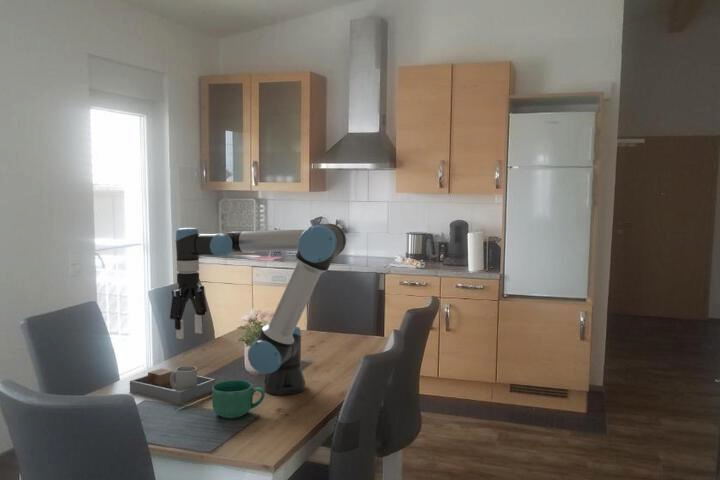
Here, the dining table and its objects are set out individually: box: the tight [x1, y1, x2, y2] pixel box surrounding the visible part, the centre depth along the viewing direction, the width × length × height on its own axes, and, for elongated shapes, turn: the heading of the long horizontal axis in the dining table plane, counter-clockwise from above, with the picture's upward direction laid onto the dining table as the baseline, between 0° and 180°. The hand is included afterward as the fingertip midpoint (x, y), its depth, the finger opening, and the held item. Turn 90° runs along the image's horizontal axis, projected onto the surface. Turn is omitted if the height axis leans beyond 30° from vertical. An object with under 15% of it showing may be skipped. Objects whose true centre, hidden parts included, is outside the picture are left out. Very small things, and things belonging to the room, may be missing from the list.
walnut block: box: [147, 368, 174, 389], centre depth 222 cm, size 6×6×6 cm
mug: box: [211, 379, 266, 419], centre depth 198 cm, size 17×13×10 cm
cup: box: [170, 365, 198, 391], centre depth 216 cm, size 7×10×9 cm
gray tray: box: [129, 368, 216, 405], centre depth 219 cm, size 24×17×4 cm
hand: (189, 335), depth 218 cm, fingers open, 9 cm apart
